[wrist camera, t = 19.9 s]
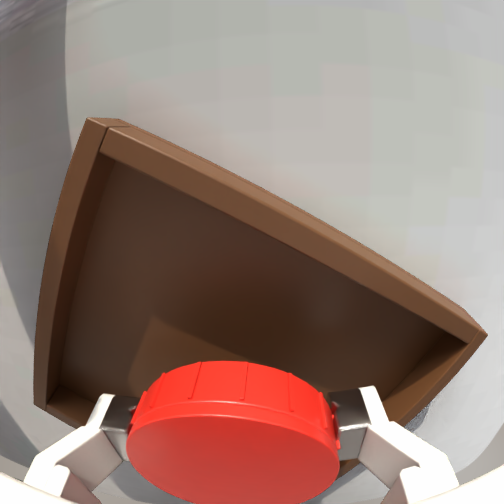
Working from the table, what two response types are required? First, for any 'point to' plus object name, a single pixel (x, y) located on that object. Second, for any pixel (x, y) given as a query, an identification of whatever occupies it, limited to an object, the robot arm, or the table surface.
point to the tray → (222, 287)
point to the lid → (234, 435)
